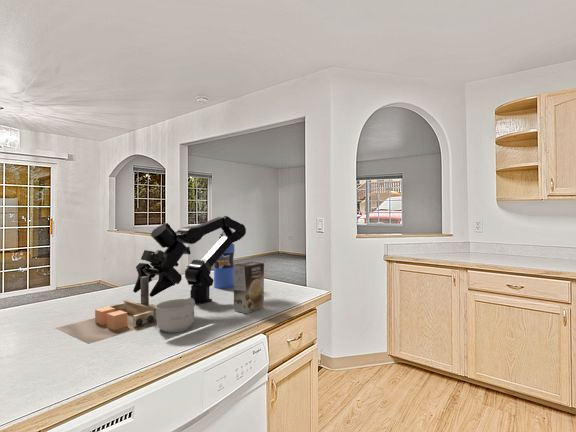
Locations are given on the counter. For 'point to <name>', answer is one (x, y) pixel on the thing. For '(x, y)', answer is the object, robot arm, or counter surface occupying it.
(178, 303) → the teacup
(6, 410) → the counter surface
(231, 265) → the water bottle
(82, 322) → the board
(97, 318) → the block
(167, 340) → the counter surface
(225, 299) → the counter surface
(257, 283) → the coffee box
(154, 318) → the wooden pusher with handle
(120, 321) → the block
